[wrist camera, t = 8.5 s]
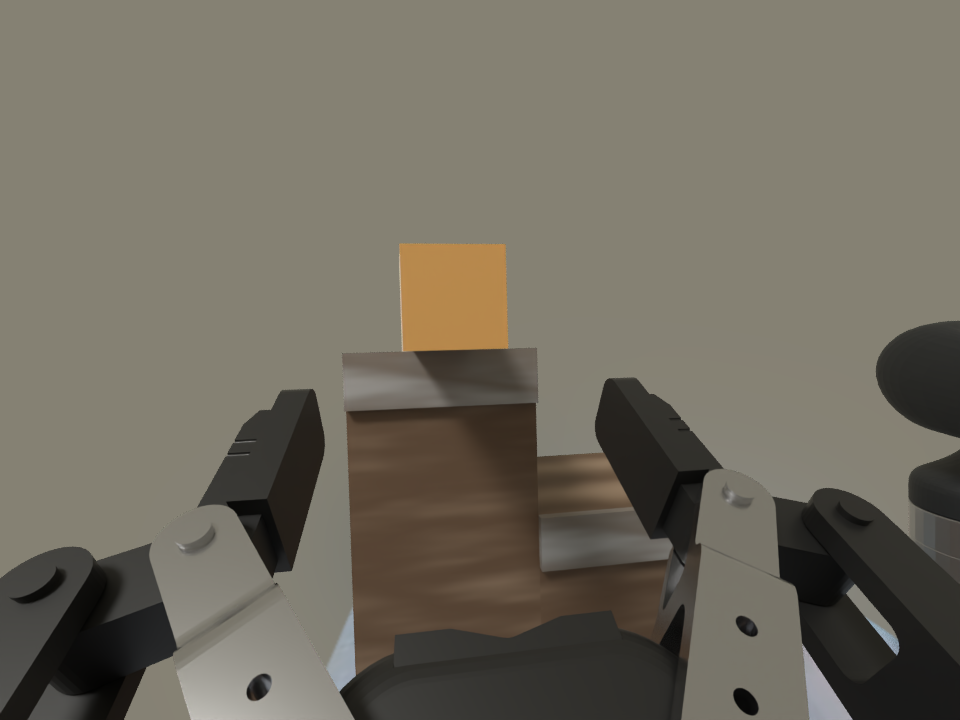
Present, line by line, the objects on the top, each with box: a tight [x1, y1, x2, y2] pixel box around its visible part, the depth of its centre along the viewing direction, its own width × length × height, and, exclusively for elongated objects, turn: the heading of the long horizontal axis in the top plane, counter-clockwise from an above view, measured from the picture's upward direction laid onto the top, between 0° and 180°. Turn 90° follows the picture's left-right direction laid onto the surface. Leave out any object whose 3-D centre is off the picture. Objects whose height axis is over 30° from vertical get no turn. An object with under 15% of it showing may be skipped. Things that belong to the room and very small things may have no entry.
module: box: [399, 244, 508, 352], centre depth 26 cm, size 25×5×6 cm, turn 8°
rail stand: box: [342, 348, 673, 675], centre depth 34 cm, size 15×28×32 cm, turn 98°
